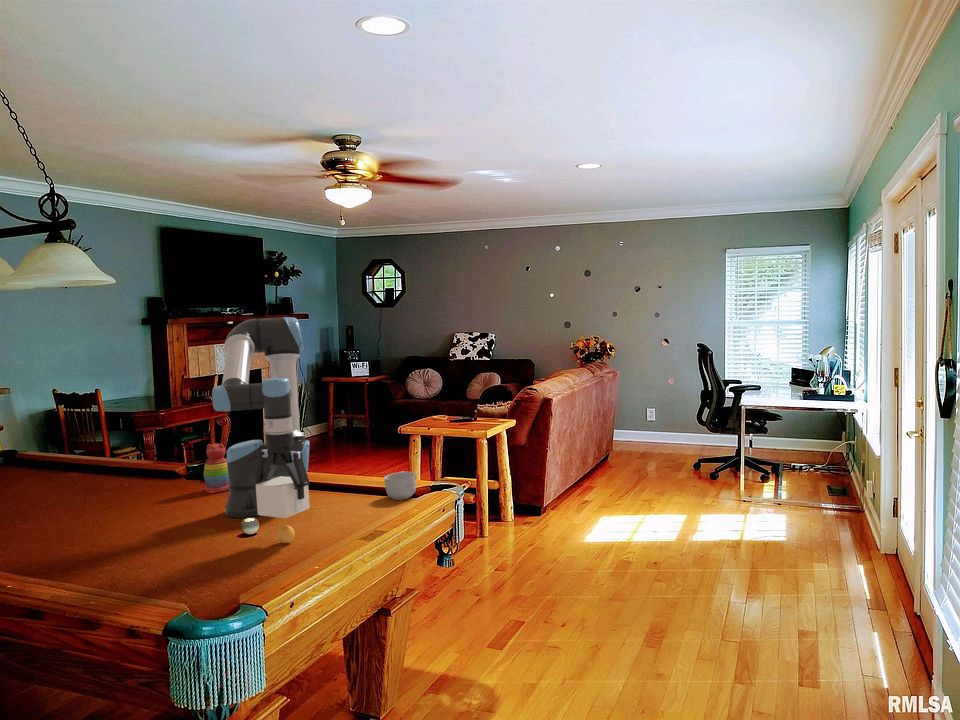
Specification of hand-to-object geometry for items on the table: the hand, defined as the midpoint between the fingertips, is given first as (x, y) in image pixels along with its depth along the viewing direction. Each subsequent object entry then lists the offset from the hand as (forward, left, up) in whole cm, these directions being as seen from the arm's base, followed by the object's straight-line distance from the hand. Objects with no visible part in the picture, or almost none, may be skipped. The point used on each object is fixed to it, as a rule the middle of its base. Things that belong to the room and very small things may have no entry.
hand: (284, 508), depth 211 cm
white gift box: (0, 0, -1) cm, 1 cm away
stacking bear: (-67, +40, -10) cm, 79 cm away
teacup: (+6, +53, -10) cm, 54 cm away
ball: (0, 0, -7) cm, 7 cm away
